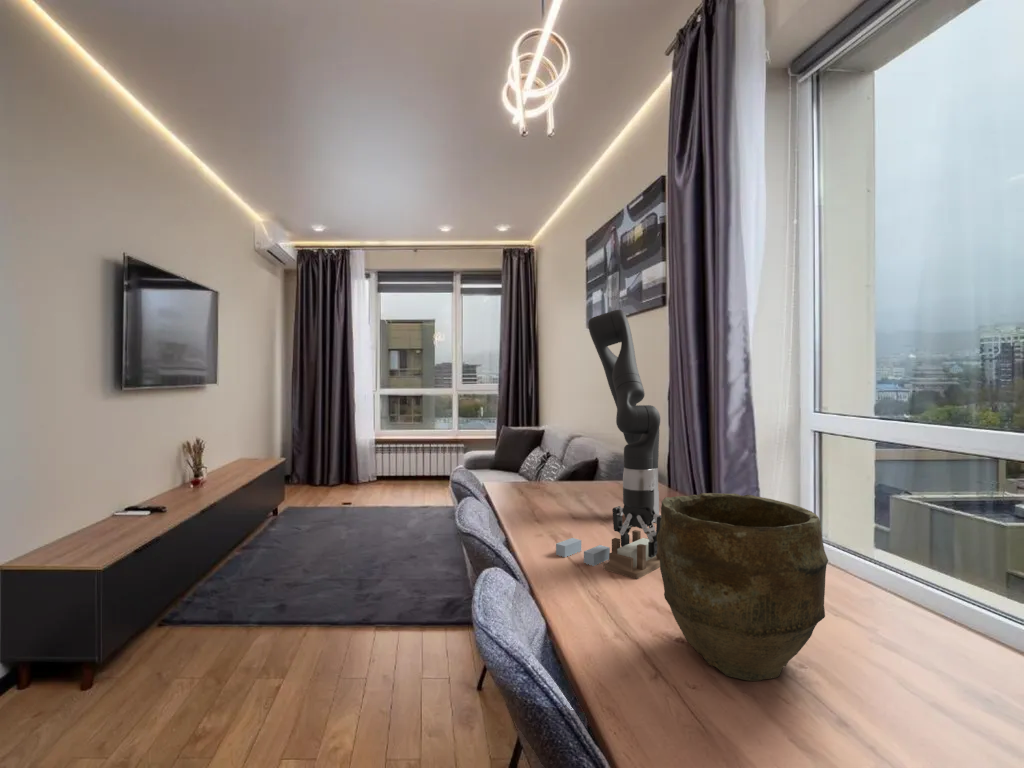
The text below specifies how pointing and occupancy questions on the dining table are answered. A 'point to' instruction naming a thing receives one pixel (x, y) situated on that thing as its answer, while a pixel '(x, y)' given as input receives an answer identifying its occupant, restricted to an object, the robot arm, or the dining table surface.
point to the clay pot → (742, 578)
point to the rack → (631, 560)
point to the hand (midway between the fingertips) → (638, 553)
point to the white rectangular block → (634, 550)
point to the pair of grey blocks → (590, 556)
